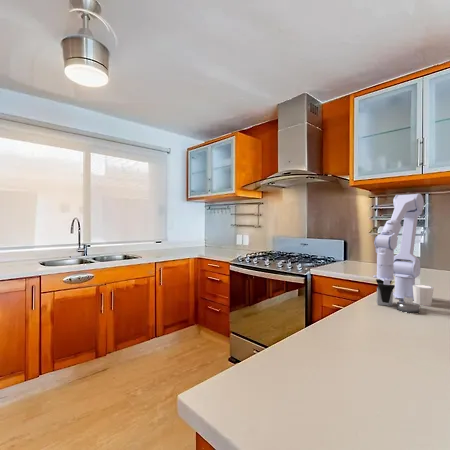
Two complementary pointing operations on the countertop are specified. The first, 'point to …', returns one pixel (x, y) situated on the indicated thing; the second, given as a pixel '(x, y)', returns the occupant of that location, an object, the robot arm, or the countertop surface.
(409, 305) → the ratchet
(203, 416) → the countertop surface
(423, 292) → the shot glass
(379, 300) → the socket
